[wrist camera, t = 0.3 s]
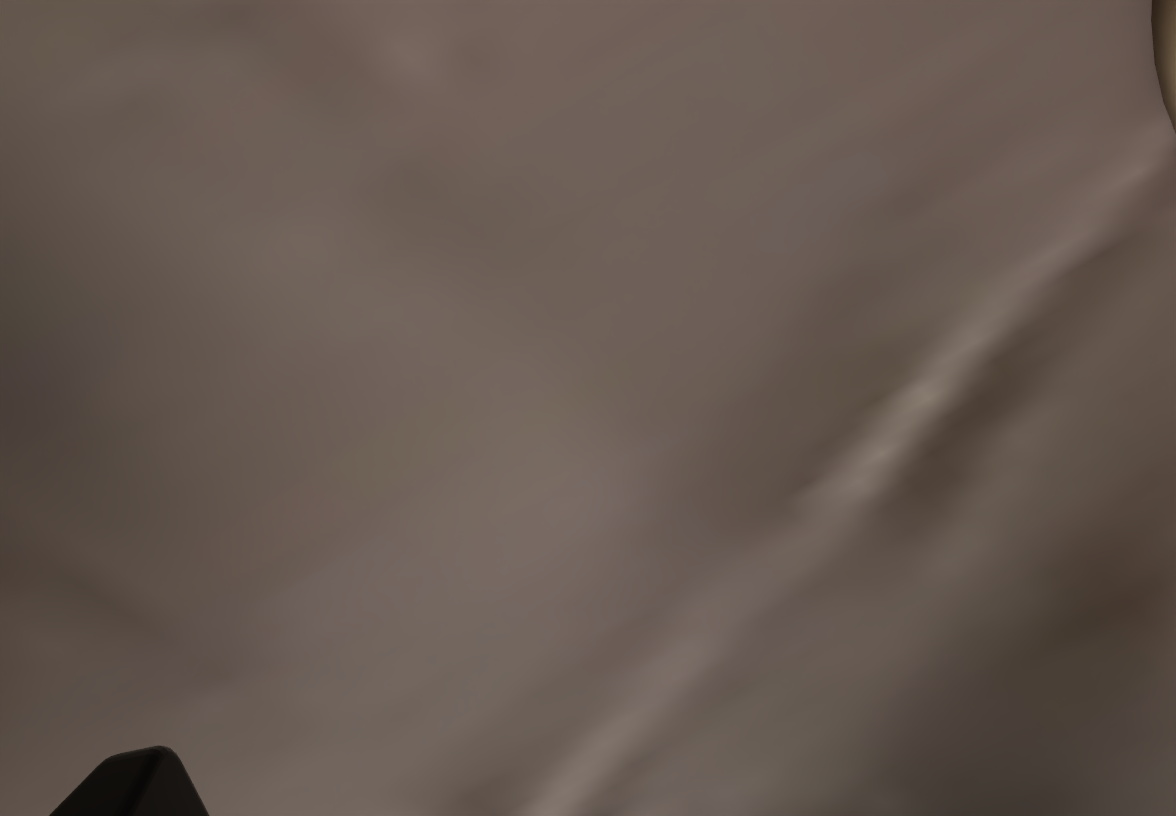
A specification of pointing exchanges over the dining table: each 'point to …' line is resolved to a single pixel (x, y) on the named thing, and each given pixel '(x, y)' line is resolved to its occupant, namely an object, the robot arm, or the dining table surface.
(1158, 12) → the brass disc
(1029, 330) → the dining table surface
